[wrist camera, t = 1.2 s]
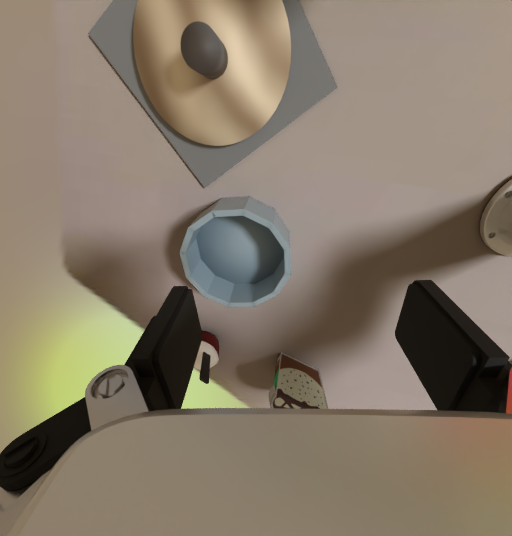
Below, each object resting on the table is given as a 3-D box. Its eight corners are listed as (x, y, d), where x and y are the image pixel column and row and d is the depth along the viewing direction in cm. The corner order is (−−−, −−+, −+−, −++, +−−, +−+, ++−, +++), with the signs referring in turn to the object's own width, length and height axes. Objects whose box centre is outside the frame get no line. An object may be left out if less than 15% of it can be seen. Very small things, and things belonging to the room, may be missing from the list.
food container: (259, 365, 54) (255, 412, 45) (274, 348, 51) (273, 395, 42) (307, 387, 56) (312, 436, 47) (324, 372, 53) (333, 421, 44)
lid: (226, -113, 22) (210, -180, 17) (319, 82, 28) (326, 74, 23) (107, 37, 28) (70, 20, 23) (205, 172, 34) (193, 180, 29)
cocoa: (198, 352, 54) (178, 409, 44) (181, 333, 51) (155, 389, 41) (236, 341, 51) (224, 399, 41) (219, 320, 48) (201, 377, 38)
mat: (230, -150, 21) (229, -154, 21) (336, 87, 29) (337, 87, 28) (90, 34, 28) (88, 33, 28) (205, 187, 36) (204, 187, 35)
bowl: (252, 175, 34) (247, 185, 29) (307, 258, 40) (310, 278, 35) (174, 231, 40) (158, 248, 34) (232, 297, 45) (226, 320, 40)
